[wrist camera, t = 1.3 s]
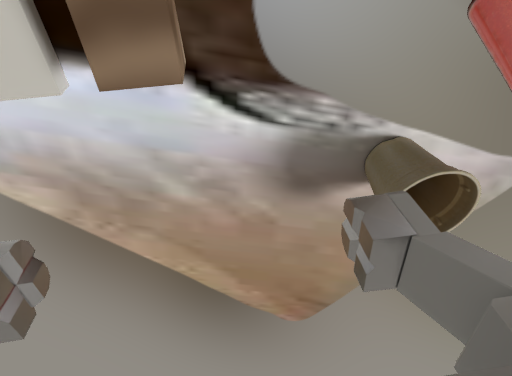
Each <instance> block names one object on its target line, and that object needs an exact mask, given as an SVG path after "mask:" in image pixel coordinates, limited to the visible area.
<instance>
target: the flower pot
mask: <svg viewBox="0 0 512 376" xmlns="http://www.w3.org/2000/svg"><path fill="white" fill-rule="evenodd" d="M365 173H366V176H367V178H368V180H369V183H370V185H371V187H372V190H373V193H374V195H378V194H384V193H389V192H396V191H405V192H407V193H408V194H409V195H410V196H411V197H412V199H413V200H414V201H415V202H416V203H417V205H418V206H419V207H420V208H421V209H422V210H423V212H424V213H425V214H426V215H427V216H428V218H429V219H430V220H431V221H432V222H433V224H434V225H435V226H436V227H437V228H438V230H439V231H440V232H449V231H451V230H453V229H454V228H455V227H457V226H458V225H460V224H461V223H462V222H463V221H464V220H465V219H466V218H467V217H468V216H469V215H470V214H471V213H472V212H473V210H474V208H475V207H476V206H477V204H478V202H479V200H480V196H481V186H480V183H479V181H478V180H477V179H476V178H475V177H474V176H473V175H472V174H470V173H468V172H466V171H462V170H458V169H456V168H454V167H452V166H448V165H446V164H445V163H443V162H442V161H440V160H439V159H438V158H436V157H435V156H433V155H432V154H430V153H429V152H427V151H426V150H425V149H423V148H422V147H421V146H419V145H418V144H416V143H415V142H414V141H413V140H411V139H408V138H404V137H397V138H395V139H393V140H389V141H384V142H382V143H381V144H379V145H378V146H376V147H375V148H374V149H373V150H372V151H371V153H370V154H369V155H368V157H367V159H366V162H365Z"/></svg>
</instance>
